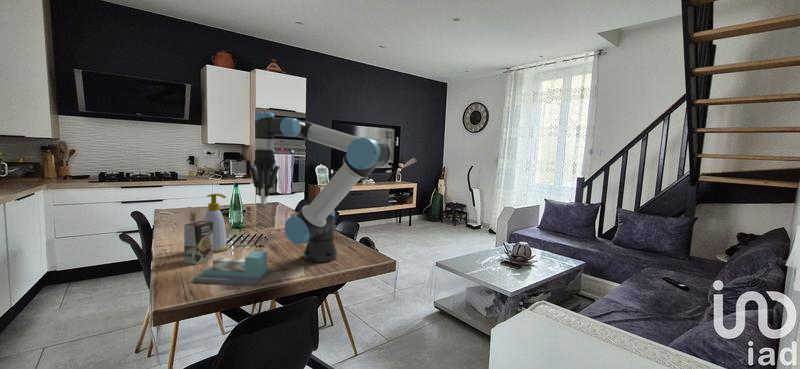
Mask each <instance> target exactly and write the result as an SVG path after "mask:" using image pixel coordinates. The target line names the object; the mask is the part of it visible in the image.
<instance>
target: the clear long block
mask: <svg viewBox="0 0 800 369" xmlns="http://www.w3.org/2000/svg"><path fill="white" fill-rule="evenodd" d="M212 266H213V271H230V272H245V258H234V257H233V258H232V257H216V258H215V259H213V260H212Z"/></svg>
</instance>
